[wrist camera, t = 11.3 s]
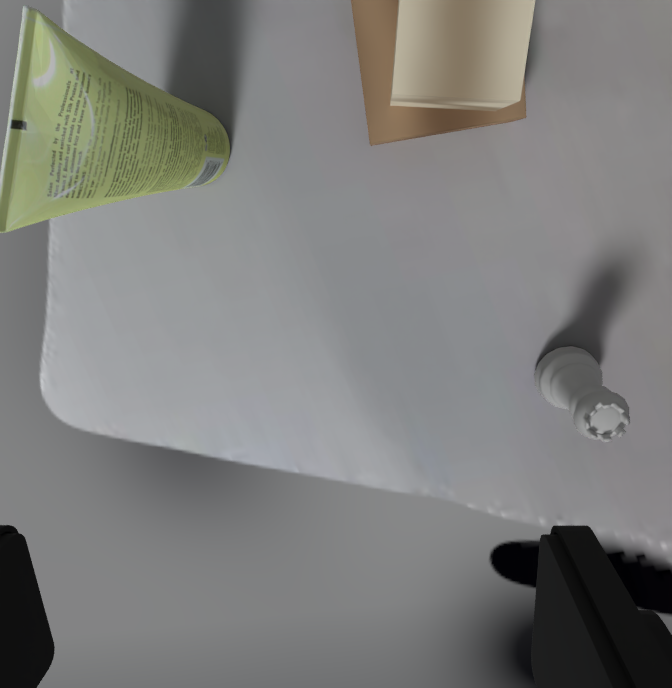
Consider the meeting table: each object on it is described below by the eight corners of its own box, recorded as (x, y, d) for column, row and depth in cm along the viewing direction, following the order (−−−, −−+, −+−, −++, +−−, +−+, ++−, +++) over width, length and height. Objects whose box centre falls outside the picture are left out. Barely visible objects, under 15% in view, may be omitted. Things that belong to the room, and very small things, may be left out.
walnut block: (501, -40, 33) (517, -66, 29) (510, 122, 35) (526, 117, 32) (350, -10, 34) (346, -31, 30) (370, 145, 36) (370, 144, 33)
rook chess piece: (537, 342, 39) (575, 385, 32) (601, 345, 39) (655, 390, 32) (528, 399, 41) (562, 454, 33) (589, 403, 40) (638, 459, 33)
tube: (140, 116, 36) (-104, 72, 18) (208, 83, 35) (23, 1, 17) (179, 198, 38) (-9, 236, 19) (245, 169, 37) (113, 178, 19)
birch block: (511, -10, 30) (542, -50, 24) (495, 111, 32) (520, 100, 26) (399, -15, 30) (404, -55, 24) (389, 105, 32) (392, 94, 26)
